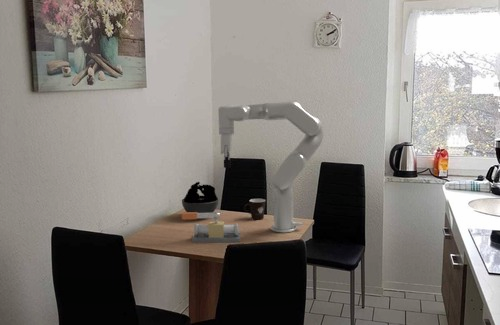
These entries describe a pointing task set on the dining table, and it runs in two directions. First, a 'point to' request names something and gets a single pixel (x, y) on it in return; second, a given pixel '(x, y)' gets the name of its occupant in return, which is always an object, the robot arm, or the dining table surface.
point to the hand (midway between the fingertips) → (227, 167)
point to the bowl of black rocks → (200, 199)
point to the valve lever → (199, 215)
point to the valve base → (226, 239)
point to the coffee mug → (256, 208)
